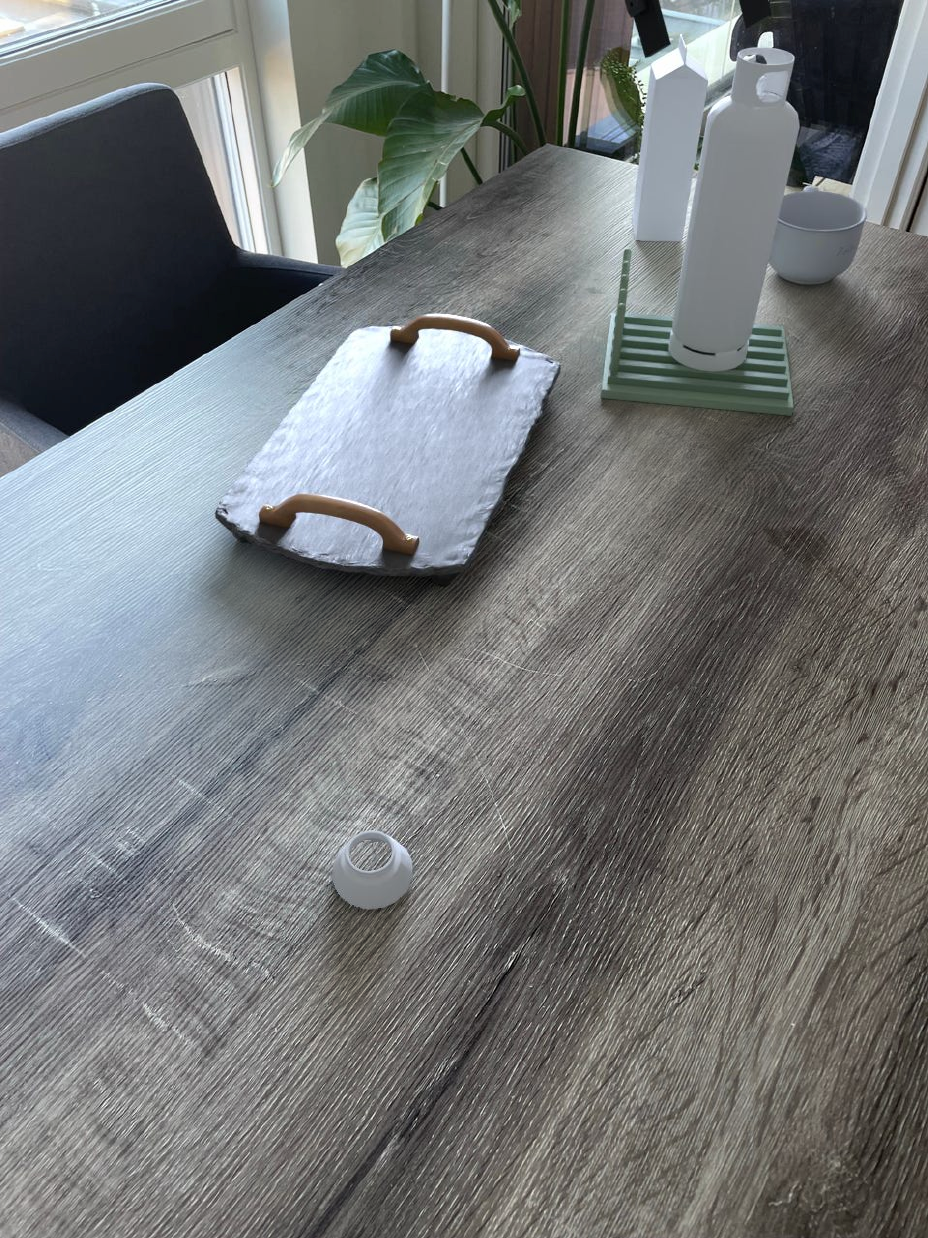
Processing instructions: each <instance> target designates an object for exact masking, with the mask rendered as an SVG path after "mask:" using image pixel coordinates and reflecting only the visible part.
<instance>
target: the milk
mask: <svg viewBox="0 0 928 1238" xmlns="http://www.w3.org/2000/svg"><path fill="white" fill-rule="evenodd" d="M708 85H709V79H708V76H707V75H706V73H705V70H704V67H703V65H702V64H701V62H699V61H697V60H696V59H695V58H694V57H692V56H691V55H690V54H688V48H687V45H686V43H685V40H684V38H683V35H682V34H681V33H680V34H679V39H678V46H677V48H675V49H674V50H672V51H670V52H669V53H666V54H665V55H664V56H661V57H660V58H659V59H656V60H655V61H653V62H652V63H651V64H650V69H649V79H648V85H647V93H646V102H645V109H644V119H643V126H642V134H641V143H640V149H639V150H640V151H639V159H638V166H637V173H636V182H635V191H634V199H633V206H632V214H631V224H632V223H633V225H632V229H633V234H634V239H635V240H634V241H636V240H640V241H639V242H672V243H673V242H677V243H679V242H680V243H681V242H683V239H684V233H685V226H686V220H687V214H688V207H689V203H690V197H691V191H692V190H691V189H692V183H693V178H694V172H695V166H696V159H697V154H698V148H699V141H700V135H701V128H702V122H703V116H704V112H705V111H704V110H705V104H706V99H707V94H708V93H707V92H708Z"/></svg>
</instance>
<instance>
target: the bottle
mask: <svg viewBox="0 0 928 1238" xmlns="http://www.w3.org/2000/svg"><path fill="white" fill-rule="evenodd" d="M749 56H761V57H763V58H764V60H765V62H766V63H759V62H753V61H749V60H747V59H745V57H749ZM794 64H795V56H794V55H793V54H792V53H790V52H789V51H786V50H783V49H779V48H773V47H764V46H762V47H761V46H760V47H759V46H758V47H755V46H754V47H747V48H744V49H741V50H740V51H738V52H737V56H736V61H735V67H734V73H733V77H732V78H733V79H732V82H731V83H732V84H731V89H730V95H728V96H725V97H723V98H722V99H720V100H719V101H717V102H716V103H715V104H713V106H712V107H711V109H710V110H709V111H708V114H707V116H706V121H705V128H704V133H703V140H702V146H701V150H700V151H701V152H700V157H699V162H698V168H697V175H696V179H695V187H694V193H693V197H692V198H693V199H692V203H691V204H692V205H691V211H690V215H689V216H690V217H689V222H688V227H687V233H686V239H685V246H684V250H683V251H684V252H683V256H682V264H681V269H680V275H679V282H678V286H677V293H676V299H675V304H674V311H673V316H672V317H673V323H672V330H671V334H670V340H669V347H668V350H669V352H670V354H671V356H672V357H673V358H674V359H675V360H677V361H678V362H679V363H681V364H683V365H685V366H687V367H690V368H694V369H698V370H703V371H725V370H729V369H733V368H735V367H737V366H739V365H740V364H742V363H743V361H744V360H745V358H746V355H747V351H748V346H749V338H750V336H751V334H752V329H753V325H754V324H755V320H756V317H757V311H758V307H759V303H760V299H761V295H762V290H763V286H764V281H765V277H766V275H767V274H766V273H767V270H768V265H769V263H768V261H769V256H770V252H771V248H772V244H773V239H774V235H775V231H776V226H777V222H778V218H779V213H780V209H781V205H782V201H783V196H784V195H785V190H786V187H787V184H788V178H789V174H790V170H791V166H792V162H793V157H794V153H795V149H796V144H797V140H798V136H799V131H800V127H801V126H800V119H799V113H798V111H796V109H795V108H794V107H793V106H792V105H791V104H790V102H788V101H787V95H788V91H789V86H790V82H791V77H792V73H793V68H794ZM683 345H685V346H687V347H689V348H691V349H694V350H698V351H702V352H708V353H716V354H715V356H712V355H703V354H699V353H696V352H692V351H690V350H688V349H686V348H684V347H683ZM739 348H740V350H739V351H737V349H739Z"/></svg>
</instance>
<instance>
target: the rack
mask: <svg viewBox="0 0 928 1238" xmlns="http://www.w3.org/2000/svg"><path fill="white" fill-rule="evenodd" d="M632 254H633V253H632V249H631V248H629V247H627V248H625V249H624V251H623V255H622V265H621V271H620V272H621V273H620V280H619V281H620V282H619V287H618V289H619V290H618V296H617V297H618V298H617V304H616V305H617V306H616V311H615V312H611V313H610V317H609V326H608V334H607V340H606V341H607V342H606V349H605V359H604V367H603V375H602V384H601V389H600V398H601V399H607V400H617V401H618V400H619V401H629V402H639V403H649V404H650V403H651V404H652V403H653V404H659V405H660V404H661V405H671V406H682V407H692V408H702V409H703V408H704V409H713V410H724V411H736V412H746V413H758V414H767V415H778V416H788V417H792V416H793V411H794V409H795V407H794V399H793V398H794V397H793V392H792V391H793V389H792V381H791V375H790V374H791V373H790V365H789V358H788V348H787V340H786V332H785V327H784V326H783V325H775V324H765V323H763V324H762V323H754V325H753V329H752V334H751V336H750V338H749V346H748V351H747V355H746V358H745V360H744V361H743V363H742V364H740V365H739V366H737V367H735V368H733V369H729V370H725V371H703V370H698V369H694V368H690V367H687V366H685V365H683V364H681V363H679V362H678V361H677V360H675V359H674V358H673V357H672V356H671V354H670V352H669V350H668V347H669V340H670V334H671V330H672V323H673V316H670V315H669V316H668V315H659V314H657V315H656V314H647V313H634V312H627V300H628V289H629V283H630V282H629V281H630V271H631V261H632ZM683 347H684V348H686V349H688V350H690V351H692V352H696V353H699V354H703V355H712V356H715V354H716V353H708V352H702V351H698V350H694V349H691V348H689V347H687V346H685V345H683ZM739 350H740V348H739V349H737V351H739Z"/></svg>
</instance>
